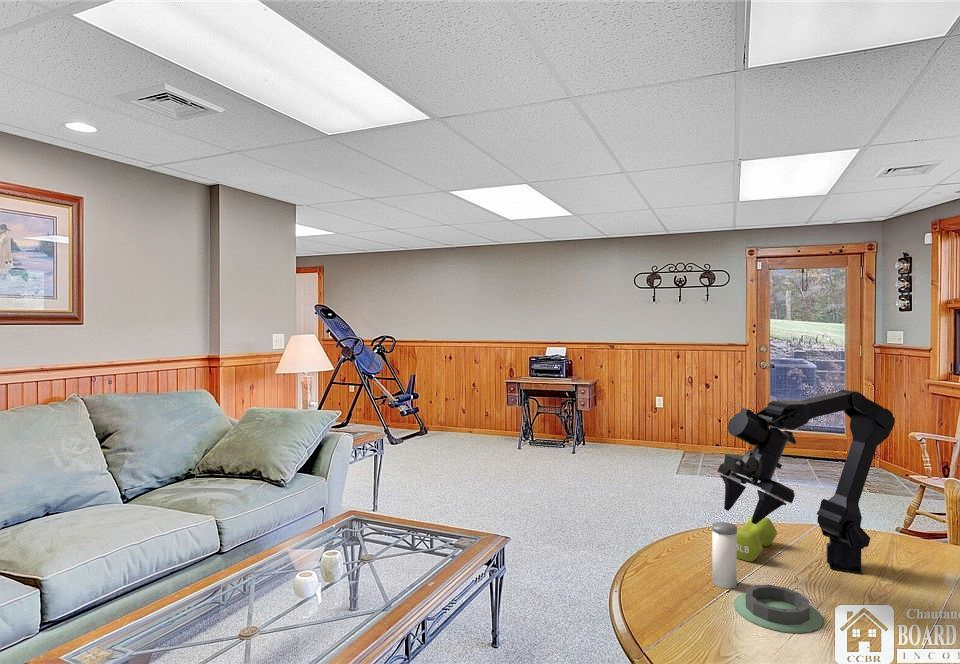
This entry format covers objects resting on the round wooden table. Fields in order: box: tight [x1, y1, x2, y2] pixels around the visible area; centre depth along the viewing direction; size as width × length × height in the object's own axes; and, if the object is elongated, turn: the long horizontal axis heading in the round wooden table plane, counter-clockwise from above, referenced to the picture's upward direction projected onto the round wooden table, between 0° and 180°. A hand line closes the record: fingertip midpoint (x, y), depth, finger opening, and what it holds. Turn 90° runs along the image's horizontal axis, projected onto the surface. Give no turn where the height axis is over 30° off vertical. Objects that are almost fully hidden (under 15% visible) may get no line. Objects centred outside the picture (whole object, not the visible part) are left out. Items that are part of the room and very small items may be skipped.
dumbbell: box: [737, 515, 778, 563], centre depth 149 cm, size 16×8×7 cm, turn 138°
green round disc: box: [733, 584, 823, 634], centre depth 119 cm, size 16×16×3 cm
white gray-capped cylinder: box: [711, 521, 738, 590], centre depth 132 cm, size 5×5×13 cm
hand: (739, 516), depth 133 cm, fingers open, 9 cm apart
